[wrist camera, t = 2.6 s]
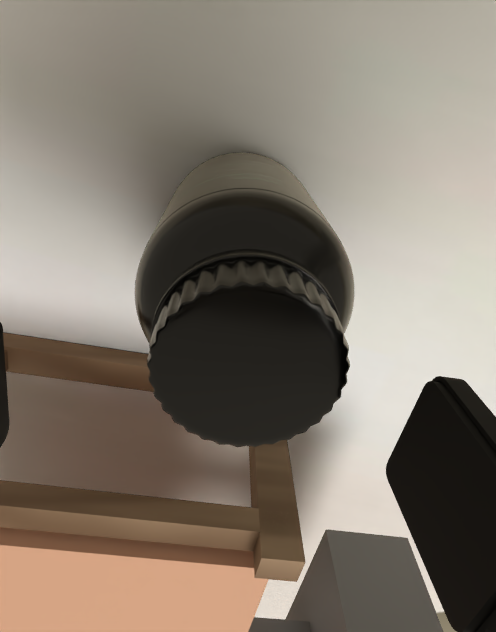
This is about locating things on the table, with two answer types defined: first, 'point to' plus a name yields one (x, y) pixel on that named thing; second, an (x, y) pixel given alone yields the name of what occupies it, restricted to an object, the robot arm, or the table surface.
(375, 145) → the table surface
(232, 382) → the supplement bottle
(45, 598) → the trapdoor
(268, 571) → the small wooden stool
